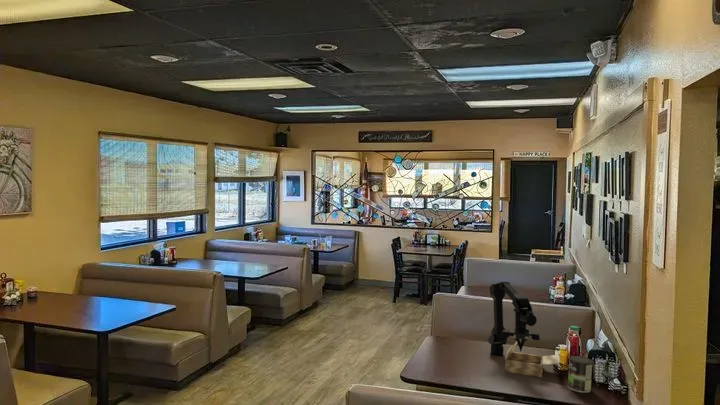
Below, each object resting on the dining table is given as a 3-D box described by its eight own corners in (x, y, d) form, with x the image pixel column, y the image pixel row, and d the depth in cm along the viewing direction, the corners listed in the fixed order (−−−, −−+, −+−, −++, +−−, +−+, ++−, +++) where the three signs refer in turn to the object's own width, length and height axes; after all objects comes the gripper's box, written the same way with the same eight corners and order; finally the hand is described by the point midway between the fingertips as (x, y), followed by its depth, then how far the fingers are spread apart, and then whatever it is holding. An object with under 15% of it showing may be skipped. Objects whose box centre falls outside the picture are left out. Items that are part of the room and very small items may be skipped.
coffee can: (574, 392, 247) (575, 362, 247) (563, 384, 257) (565, 355, 257) (595, 392, 248) (597, 363, 248) (584, 384, 258) (585, 355, 258)
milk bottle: (579, 361, 293) (581, 325, 293) (580, 366, 286) (582, 329, 285) (564, 359, 296) (566, 324, 295) (565, 363, 288) (567, 327, 288)
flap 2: (559, 363, 264) (559, 363, 264) (559, 354, 278) (559, 355, 278) (542, 364, 266) (542, 365, 266) (543, 356, 280) (543, 356, 280)
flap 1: (518, 340, 285) (517, 340, 285) (516, 348, 271) (515, 347, 271) (508, 351, 287) (507, 350, 287) (505, 359, 273) (505, 358, 273)
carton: (504, 371, 272) (505, 359, 272) (507, 362, 287) (508, 351, 287) (541, 377, 266) (542, 365, 266) (542, 367, 281) (543, 356, 281)
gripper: (501, 323, 272) (501, 353, 273) (539, 326, 266) (539, 357, 266) (502, 318, 283) (502, 348, 283) (539, 321, 277) (539, 351, 277)
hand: (520, 351), depth 277 cm, fingers closed
